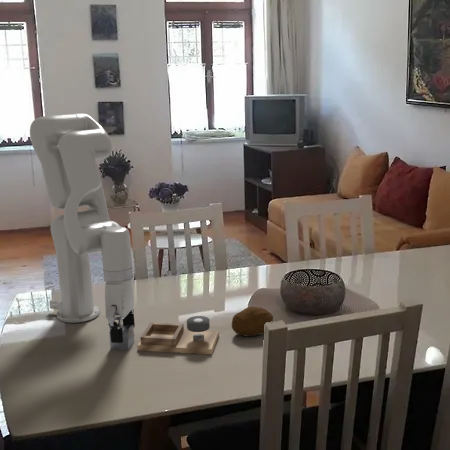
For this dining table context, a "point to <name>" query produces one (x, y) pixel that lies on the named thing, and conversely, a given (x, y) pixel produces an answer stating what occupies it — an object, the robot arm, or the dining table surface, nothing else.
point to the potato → (251, 321)
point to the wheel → (198, 324)
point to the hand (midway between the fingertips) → (123, 334)
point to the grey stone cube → (124, 338)
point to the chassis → (177, 339)
